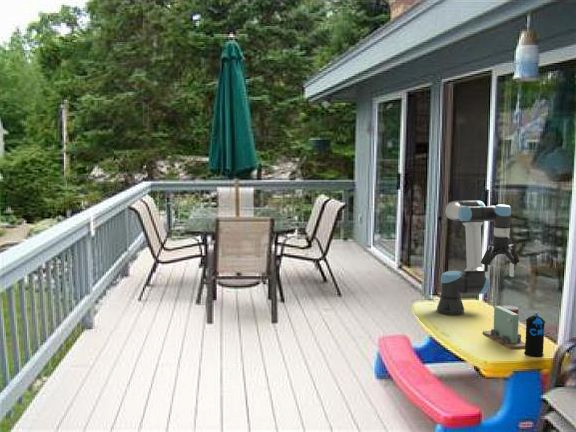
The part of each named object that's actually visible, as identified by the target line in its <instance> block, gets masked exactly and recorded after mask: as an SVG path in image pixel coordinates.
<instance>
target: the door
mask: <svg viewBox="0 0 576 432" xmlns="http://www.w3.org/2000/svg"><path fill="white" fill-rule="evenodd" d="M493 308H494V310H493V313H494V314H493V330H495V331H497V336H499V337H501V338H502V336H503V335H504V336H506V337H508V338H509V342H510V343H512V344H513V343H518V334H519V320H520V319H519V318H520V317H519V316H520V315H519V313H518V314H516V313H514V312H512V311H510V310H508V309H505V308H503V307H502V305H494V307H493Z"/></svg>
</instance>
